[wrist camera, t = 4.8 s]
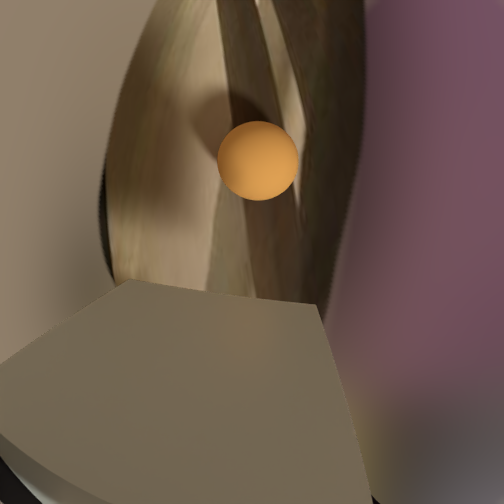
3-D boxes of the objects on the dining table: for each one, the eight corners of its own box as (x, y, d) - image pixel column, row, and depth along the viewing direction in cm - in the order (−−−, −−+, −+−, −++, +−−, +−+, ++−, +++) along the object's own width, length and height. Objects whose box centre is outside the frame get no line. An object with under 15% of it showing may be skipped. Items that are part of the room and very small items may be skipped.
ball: (291, 203, 19) (296, 206, 14) (221, 195, 20) (204, 196, 15) (298, 135, 18) (306, 116, 13) (229, 128, 19) (214, 108, 14)
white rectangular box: (284, 435, 12) (279, 584, 3) (143, 409, 12) (72, 529, 4) (315, 304, 10) (378, 530, 2) (129, 278, 11) (-39, 394, 2)
